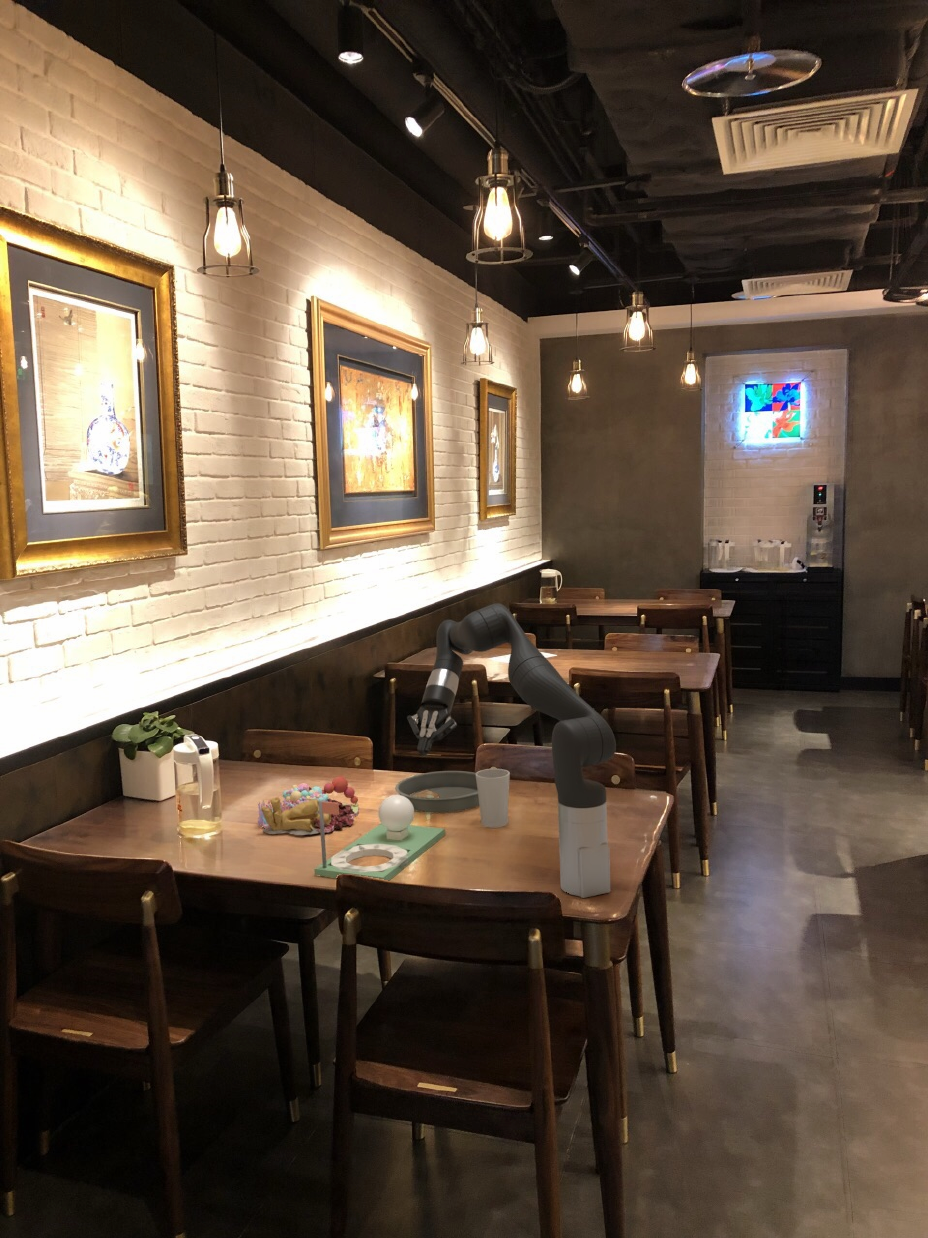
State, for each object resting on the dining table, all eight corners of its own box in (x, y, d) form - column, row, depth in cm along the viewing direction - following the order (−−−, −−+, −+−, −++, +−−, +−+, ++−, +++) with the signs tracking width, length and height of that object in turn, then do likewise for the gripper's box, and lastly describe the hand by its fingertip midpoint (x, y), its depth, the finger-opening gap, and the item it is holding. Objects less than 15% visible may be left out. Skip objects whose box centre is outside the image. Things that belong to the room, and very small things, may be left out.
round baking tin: (449, 781, 260) (448, 765, 259) (512, 799, 241) (511, 782, 241) (376, 802, 244) (375, 785, 243) (438, 823, 225) (437, 804, 225)
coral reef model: (352, 836, 218) (350, 797, 217) (250, 841, 218) (247, 802, 217) (362, 803, 243) (360, 768, 242) (270, 808, 243) (268, 772, 242)
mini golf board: (383, 828, 222) (379, 764, 220) (445, 835, 216) (442, 768, 214) (314, 876, 195) (310, 802, 193) (383, 885, 188) (379, 809, 187)
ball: (420, 832, 209) (418, 797, 208) (385, 839, 206) (383, 803, 205) (408, 822, 216) (406, 788, 216) (374, 828, 214) (373, 793, 213)
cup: (508, 829, 218) (506, 778, 216) (474, 828, 220) (472, 778, 218) (513, 818, 226) (512, 768, 224) (481, 817, 227) (479, 768, 226)
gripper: (470, 701, 234) (452, 763, 224) (421, 698, 239) (402, 759, 229) (461, 684, 228) (443, 748, 219) (411, 681, 233) (391, 743, 224)
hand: (422, 753), depth 224 cm, fingers closed
